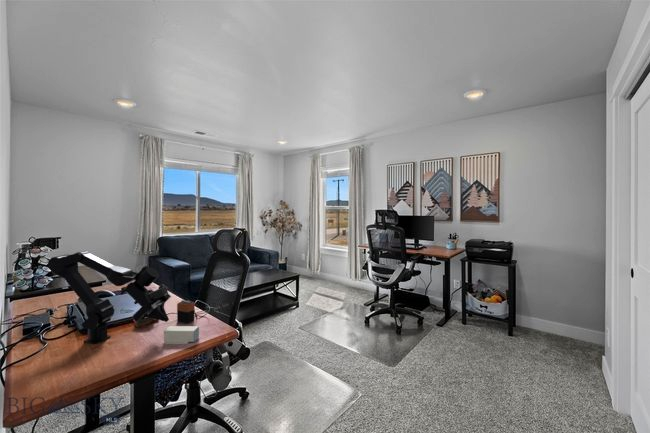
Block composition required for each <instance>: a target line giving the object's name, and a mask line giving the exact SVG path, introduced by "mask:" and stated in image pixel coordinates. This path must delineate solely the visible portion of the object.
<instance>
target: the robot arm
mask: <svg viewBox="0 0 650 433" xmlns="http://www.w3.org/2000/svg"><path fill="white" fill-rule="evenodd" d="M79 264H81V265H83V266H85V267H87V268H89V269H91V270H94V271H95V272H98V273H100V274H102V275H103V276H105V277H106V279H107V281H108V282H109V283H111V284H112V285H114V286H115V287H121V289H120V295H121V296H123V295H125V294H128V295H129V297H131V298H132V299H133V300H134V302H133V304H135V305H137V304H138V305H139V306H140V308H139V309H138V310H137V311H136V312H134V313H133V315H132V319H133V321H135V323H136V322H137V321H139V320H140V319H141V317H142V316H143V315H144V314H145V313H147V314H148V315H147V316H146V317H149V318H154V319H155V320H156V319H158V321H162V322H165V323H167V322H168V321H169V320H170V319H169V316H168V314H167V312H166V309H165V304H166V302H167V301H168V300H169V299H170V298H172V296H171V295H170V294H169V292H168V291H169V287H168V286H167V285H165V284H161V285H159V286H158V289H156V290H153V289H149V290H148V288H147V287H150V285H152V284H153V283H154V282H155V280H157V279H158V278H159V276H160V273H159V271H158V270H157V269H155V268H153V267H150V266H148V265H144V266H143V267H142V268H141V269H140V270H139V272H138V271H134V270H132V269H131V268H126V267H124V266H117V265H113V264H112V263H109V261H108V262H107V261H106V260H104V259H102V258H99V257H98V256H96V255H94V254H92V253H91V252H90V251H87V250H83V251H78V252H75V253H73V254H69V253H68V254H63V255H62V254H61V255H57V256H52V257H50V258H49V260H48V262H47V268H48V269H49V271H51V272H52V273H53V274H54V275H56V276H58V277H60V278H63V279H64V280H65V281H66V283H67V284H68V286H70V288H71V290H73V292H74V293H75V295H76V296H77V297H78V298H79V299H80V301H81V303H83V304H84V307H85V314H86V316H87V318H86V320H85V321H84V322H82V323H81V326H82V329H83V330H87V338H86V339H84V340H83V342H84V343H90V344H94V345H95V344H98V343H100V342H102V341H105V340H107V339H109V338H111V337H112V336H111V335H110V334H108V324H107V322H110V321H112V320H111V319H112V317H113V316H114V314H115V308H114V307H115V305H113V304H112V303H111V301H110V300H109V299H108V298H107V299H104V300H103V299H101V298H100V297H99V296H98V295H97V294H96V292H95V291H94V290H93V288H92V287H91V286H90V284H88V282H87V281H86V279H85V278H84V277H83V276H82V274H81V273H80V272H79ZM125 285H126V286H125ZM122 286H123V287H122ZM146 317H145V318H146Z"/></svg>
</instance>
